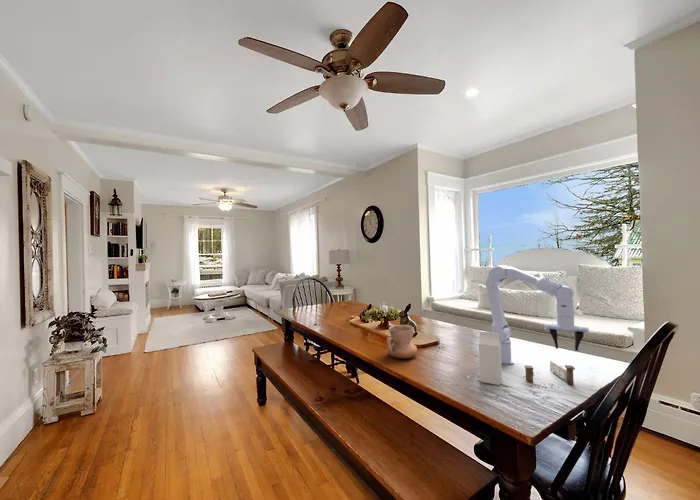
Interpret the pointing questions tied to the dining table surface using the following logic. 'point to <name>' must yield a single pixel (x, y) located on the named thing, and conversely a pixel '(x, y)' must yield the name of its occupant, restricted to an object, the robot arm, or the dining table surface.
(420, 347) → the dining table surface
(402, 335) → the ceramic jug
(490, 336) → the milk carton
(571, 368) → the hinge post
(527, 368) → the post
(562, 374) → the gate
